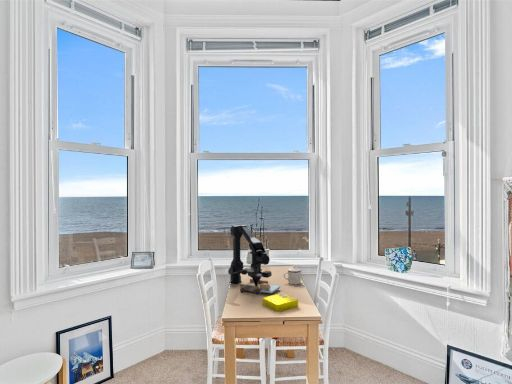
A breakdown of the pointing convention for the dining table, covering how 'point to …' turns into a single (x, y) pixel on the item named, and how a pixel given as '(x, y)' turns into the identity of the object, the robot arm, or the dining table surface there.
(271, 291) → the tailgate
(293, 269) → the teacup with lid
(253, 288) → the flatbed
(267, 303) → the element tile
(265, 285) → the cube with rounded ends
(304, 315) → the dining table surface
